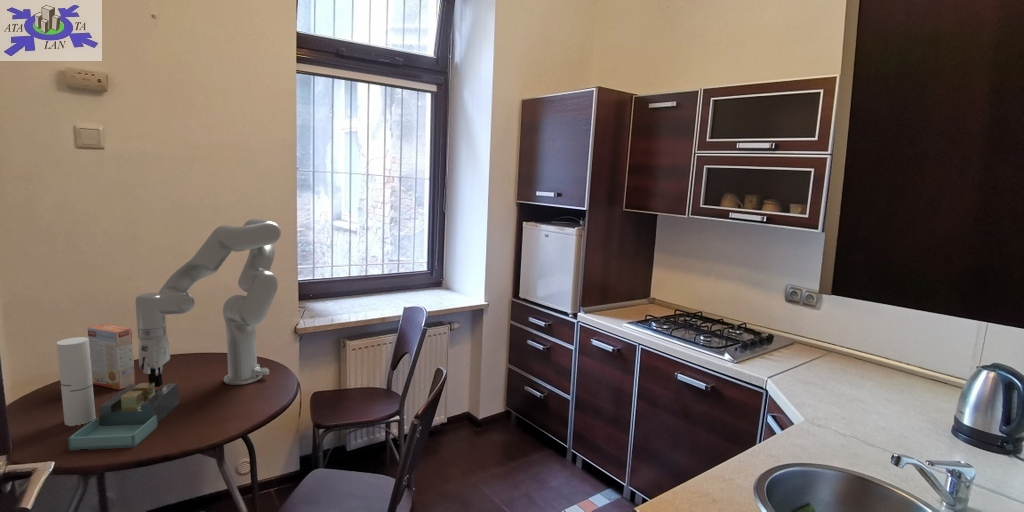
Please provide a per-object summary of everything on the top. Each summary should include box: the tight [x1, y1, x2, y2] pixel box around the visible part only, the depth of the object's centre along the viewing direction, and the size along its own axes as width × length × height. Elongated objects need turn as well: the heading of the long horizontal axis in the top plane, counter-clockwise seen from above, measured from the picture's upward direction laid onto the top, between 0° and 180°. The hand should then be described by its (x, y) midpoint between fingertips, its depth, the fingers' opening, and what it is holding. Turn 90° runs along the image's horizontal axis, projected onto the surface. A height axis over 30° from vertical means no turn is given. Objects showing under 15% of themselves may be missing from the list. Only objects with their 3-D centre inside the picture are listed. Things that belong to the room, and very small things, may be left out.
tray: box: [67, 416, 158, 451], centre depth 144 cm, size 16×12×4 cm
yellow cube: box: [121, 391, 144, 410], centre depth 153 cm, size 4×4×4 cm
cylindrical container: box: [56, 336, 97, 427], centre depth 152 cm, size 7×7×25 cm
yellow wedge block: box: [133, 382, 156, 400], centre depth 159 cm, size 4×4×4 cm
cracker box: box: [87, 323, 136, 391], centre depth 178 cm, size 14×6×21 cm, turn 71°
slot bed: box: [99, 382, 180, 426], centre depth 157 cm, size 14×16×7 cm
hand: (155, 385), depth 166 cm, fingers closed
